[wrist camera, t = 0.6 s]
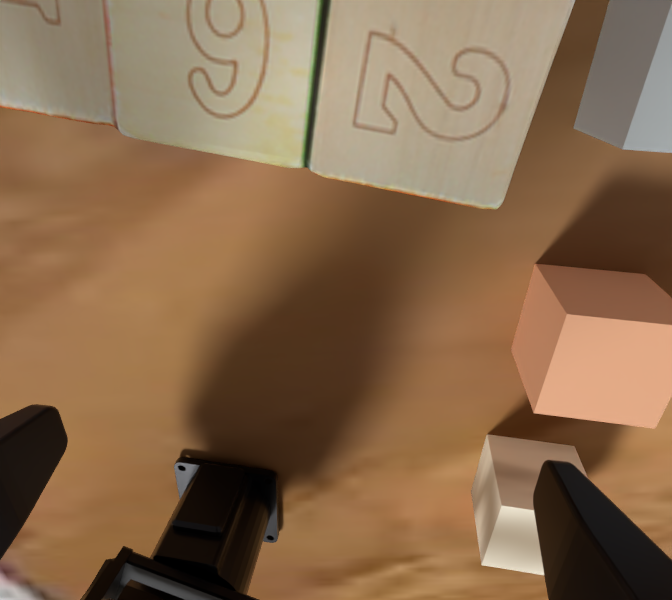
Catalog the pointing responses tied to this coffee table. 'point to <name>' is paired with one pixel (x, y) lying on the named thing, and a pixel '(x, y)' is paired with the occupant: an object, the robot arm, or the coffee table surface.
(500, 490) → the cream block
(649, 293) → the terracotta block
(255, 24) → the stack of blocks
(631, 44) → the blue grey block
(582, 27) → the coffee table surface
